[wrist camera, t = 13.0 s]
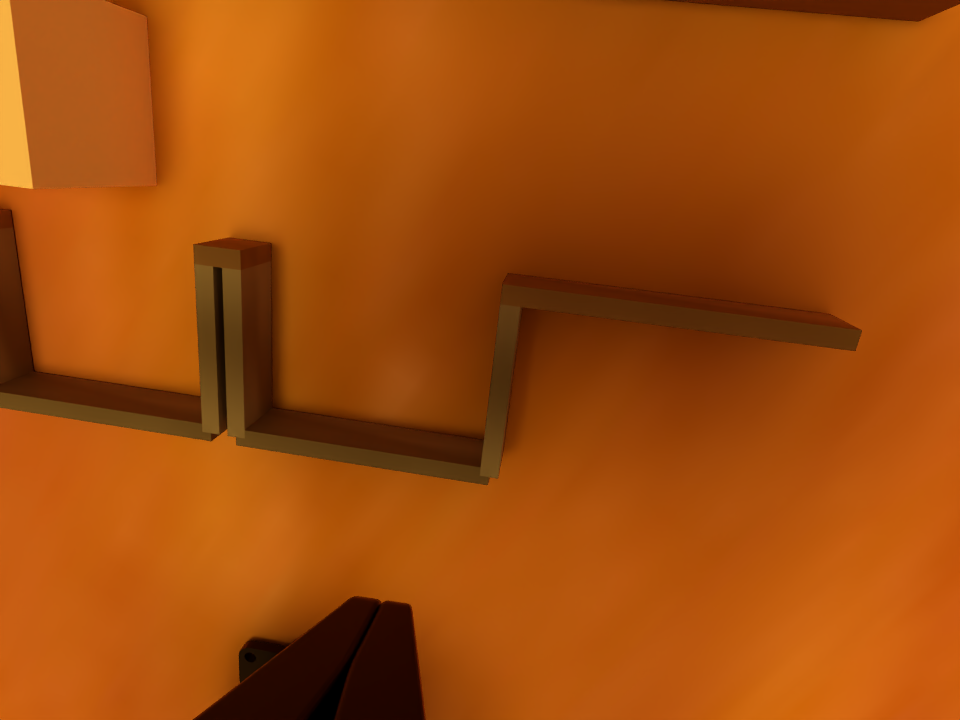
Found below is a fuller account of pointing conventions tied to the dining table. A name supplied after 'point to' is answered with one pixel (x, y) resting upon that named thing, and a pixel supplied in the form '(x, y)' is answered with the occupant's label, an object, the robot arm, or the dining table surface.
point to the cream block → (74, 95)
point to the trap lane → (251, 419)
